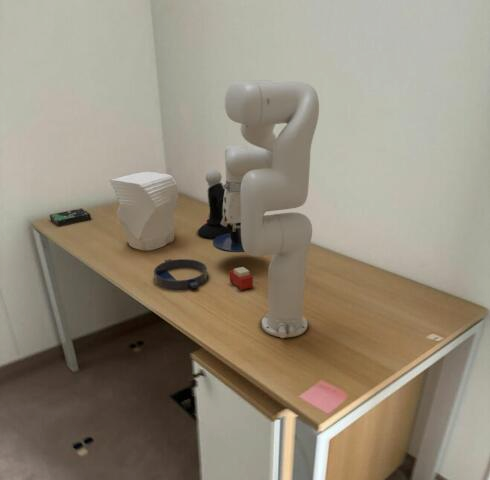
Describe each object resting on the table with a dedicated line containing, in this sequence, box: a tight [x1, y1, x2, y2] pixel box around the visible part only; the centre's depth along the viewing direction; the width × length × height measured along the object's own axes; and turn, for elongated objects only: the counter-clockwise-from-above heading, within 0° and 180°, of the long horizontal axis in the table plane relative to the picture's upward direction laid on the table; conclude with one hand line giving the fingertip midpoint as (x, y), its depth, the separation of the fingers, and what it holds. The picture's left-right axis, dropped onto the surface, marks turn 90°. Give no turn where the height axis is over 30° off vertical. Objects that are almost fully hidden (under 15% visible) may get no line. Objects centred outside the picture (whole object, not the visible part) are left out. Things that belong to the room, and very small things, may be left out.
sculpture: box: [197, 169, 241, 240], centre depth 182 cm, size 15×24×25 cm, turn 34°
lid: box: [212, 226, 245, 253], centre depth 157 cm, size 18×18×6 cm
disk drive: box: [49, 208, 92, 227], centre depth 205 cm, size 10×3×15 cm
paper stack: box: [109, 171, 179, 252], centre depth 176 cm, size 21×27×26 cm
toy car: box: [229, 266, 254, 291], centre depth 148 cm, size 8×4×6 cm, turn 30°
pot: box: [153, 258, 208, 291], centre depth 153 cm, size 17×23×4 cm
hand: (238, 240), depth 158 cm, fingers closed on lid, 2 cm apart
